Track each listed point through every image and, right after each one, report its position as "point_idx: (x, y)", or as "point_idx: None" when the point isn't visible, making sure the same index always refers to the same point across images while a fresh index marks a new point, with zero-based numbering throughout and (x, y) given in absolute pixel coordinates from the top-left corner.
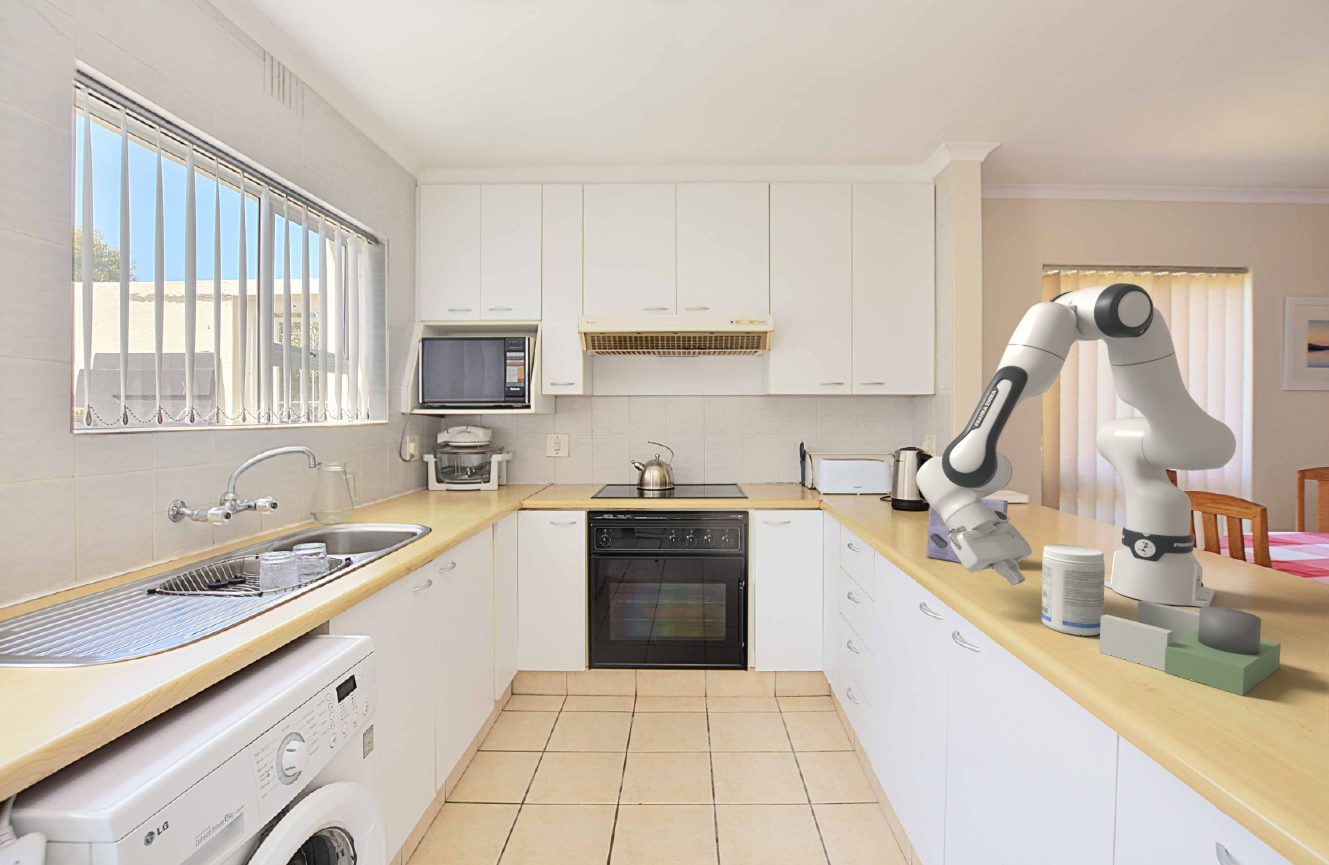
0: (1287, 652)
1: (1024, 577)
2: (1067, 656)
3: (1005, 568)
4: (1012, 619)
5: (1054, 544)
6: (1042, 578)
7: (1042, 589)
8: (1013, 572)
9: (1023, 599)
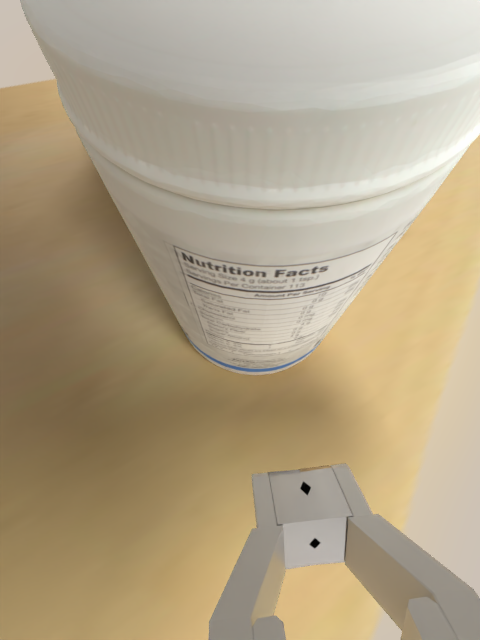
0: (30, 102)
1: (257, 480)
2: (444, 216)
3: (447, 572)
4: (357, 435)
5: (194, 70)
6: (358, 287)
7: (341, 311)
8: (355, 522)
9: (55, 605)
